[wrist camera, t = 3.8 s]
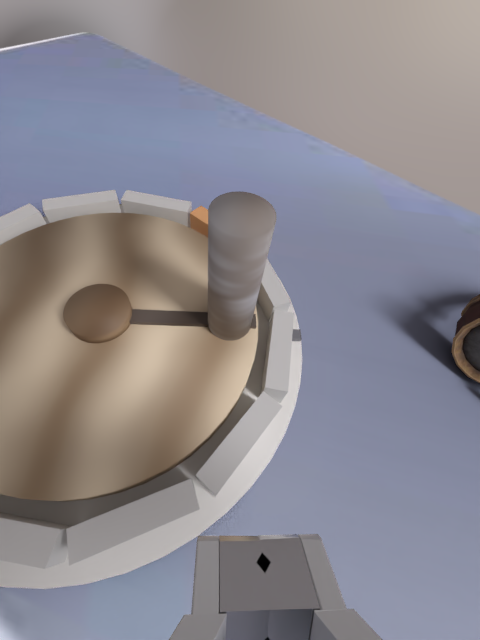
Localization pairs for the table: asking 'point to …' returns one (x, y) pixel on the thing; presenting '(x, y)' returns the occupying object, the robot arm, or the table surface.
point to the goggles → (468, 340)
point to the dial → (124, 344)
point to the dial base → (183, 480)
